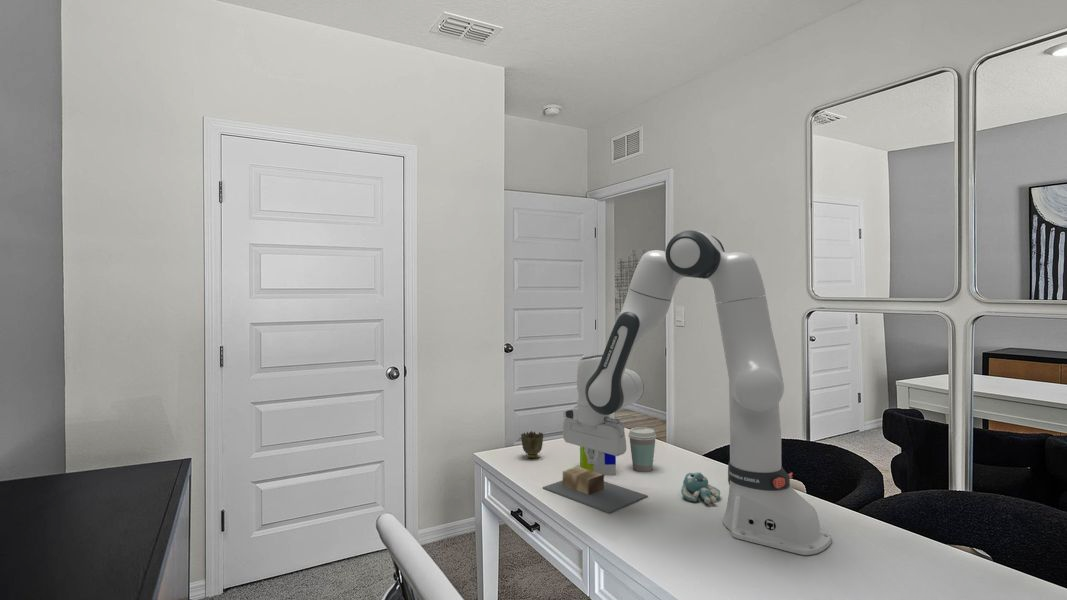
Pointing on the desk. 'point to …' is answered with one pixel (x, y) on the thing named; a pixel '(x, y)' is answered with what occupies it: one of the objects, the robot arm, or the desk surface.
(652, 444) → the coffee cup
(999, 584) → the desk surface
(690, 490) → the stuffed animal
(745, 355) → the robot arm
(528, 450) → the olive cup-shaped piece
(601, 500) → the mat
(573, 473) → the oak block
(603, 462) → the puzzle toy
